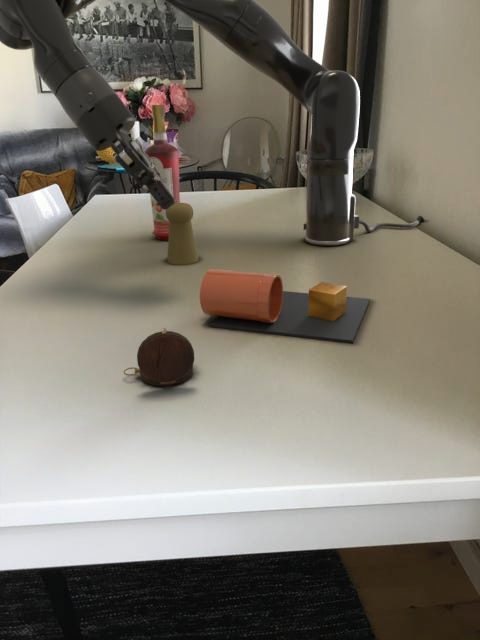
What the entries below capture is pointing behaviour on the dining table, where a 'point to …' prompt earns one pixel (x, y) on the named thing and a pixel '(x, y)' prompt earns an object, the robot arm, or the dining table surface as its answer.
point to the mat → (304, 320)
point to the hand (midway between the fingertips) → (170, 206)
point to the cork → (181, 235)
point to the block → (327, 301)
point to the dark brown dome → (164, 358)
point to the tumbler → (242, 295)
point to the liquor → (163, 170)
